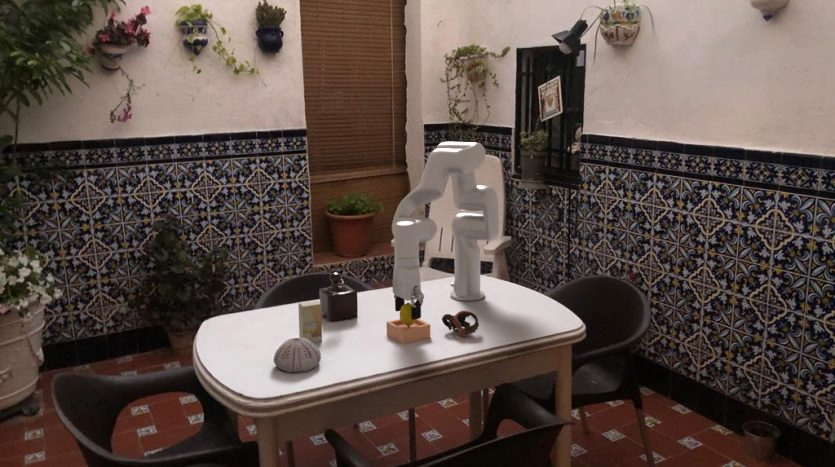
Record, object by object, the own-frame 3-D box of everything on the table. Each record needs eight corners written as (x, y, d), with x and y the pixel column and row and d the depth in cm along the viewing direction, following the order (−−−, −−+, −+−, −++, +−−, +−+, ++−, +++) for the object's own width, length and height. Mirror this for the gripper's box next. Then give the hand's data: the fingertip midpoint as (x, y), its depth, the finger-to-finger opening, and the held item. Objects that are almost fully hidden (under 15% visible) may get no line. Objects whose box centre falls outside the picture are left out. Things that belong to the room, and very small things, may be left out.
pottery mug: (477, 329, 221) (483, 312, 216) (472, 350, 214) (477, 333, 209) (442, 318, 223) (446, 301, 217) (435, 339, 216) (439, 322, 210)
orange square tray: (386, 334, 216) (386, 322, 215) (413, 328, 221) (413, 316, 221) (403, 344, 208) (402, 330, 207) (430, 337, 213) (430, 324, 212)
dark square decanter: (317, 314, 237) (315, 264, 233) (347, 309, 242) (345, 260, 238) (333, 327, 224) (331, 274, 220) (364, 322, 228) (362, 270, 225)
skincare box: (303, 344, 209) (301, 306, 206) (299, 340, 213) (297, 302, 210) (323, 340, 212) (321, 303, 209) (318, 336, 216) (316, 299, 213)
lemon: (418, 323, 217) (417, 299, 215) (416, 330, 211) (416, 305, 209) (400, 323, 217) (400, 299, 215) (398, 329, 212) (398, 305, 210)
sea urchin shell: (322, 355, 201) (320, 329, 199) (321, 373, 188) (320, 346, 186) (276, 358, 199) (274, 332, 197) (272, 377, 186) (270, 349, 184)
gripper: (382, 257, 215) (383, 309, 218) (411, 269, 201) (412, 324, 204) (402, 254, 219) (403, 305, 222) (432, 265, 204) (433, 319, 208)
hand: (408, 314), depth 213 cm, fingers open, 9 cm apart
